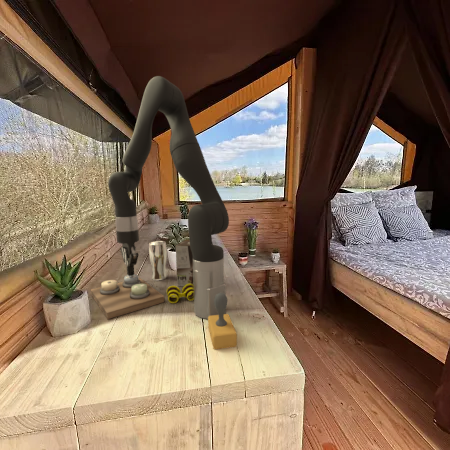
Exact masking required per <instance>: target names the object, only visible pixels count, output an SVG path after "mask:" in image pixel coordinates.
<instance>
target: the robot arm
mask: <svg viewBox="0 0 450 450" xmlns="http://www.w3.org/2000/svg"><path fill="white" fill-rule="evenodd" d="M185 101H186V100H185V97H184V94H183V92H182V90H181V89H180V88H179V87H178V86H176V85H175V84H174V83H172V82H170V81H169V80H168V79H167V78H165V77H163V76H161V75H156V76H153V77H152V78H150V80H149V81H148V83H147V85H146V87H145V89H144V92H143V96H142V99H141V103H140V108H139V111H138V115H137V118H136V123H135V126H134V130H133V132H132V133H133V134H132V136H131V138H130V140H129V143H128V145H127V148H126V150H125V151H124V154H123V156H122V159H121V160H122V163H123V165H124V166H125V168H124V171H114V172H112V173H111V174H110V175H109V177H108V181H107V183H108V184H107V185H108V190H109V193H110V195H111V199H112V201H113V204H114V214H115V234H116V242H117V243H118V244H122V245H121V247H120V254H121V257H122V260H123V263H124V264H125V266H126V276H127V275H128V276H132V275H134V274H135V265H137V263H138V259H139V256H140V255H139V253H138V252H137V246H135V245H136V244H135V243H137V242H139V241H140V234H139V221H138V217H137V215H138V214H137V204H136V201H135V200H134V199H131V198H130V195H129V194H130V192H134V191H135V190H136V189H137V188H138V187H139V185H140V182H141V178H142V174H143V169H144V168H143V167H144V165H145V163H146V162H147V159H148V157H149V155H150V152H151V150H152V145H153V144H152V143H153V139H152V137H153V133H152V132H153V131H152V130H153V123H154V120H155V117H156V116H157V113H158V111H159V112H161V113H163V115H164V116H165V118H166V119H167V122H168V124H169V127H170V131H171V134H170V135H171V136H170V139H169V154H170V156H171V158H172V162H173V164H174V167H175V169H176V172H177V173H178V175H179V176H180V177H181V178H182V179H183V180H184V181H185V182H186V183H187V184H188V185H189V186H190V187H191V188H192V189H193V190H194V191H195V192H196V195H197V196H198V198H199V199H200V202H201V204H195V205H193V206H192V207H191V208H190V210H189V211H188V215H187V227H188V237H189V239H188V241H190V248H191V251H192V255H193V284H194V300H193V303H194V305H193V309H194V314H195V316H196V317H198V318H201V319H204V320H205V319H207V320H208V317H209V316H212V315H218V312H217V310H216V308H215V305H214V299H215V296H216V295H217V294H218V293H224V294H225V295H226V296H227V285H226V284H225V268H224V267H225V265H224V264H225V263H224V262H225V257H224V255H225V254H224V252H225V251H224V248H223V247H222V246H219V245H217V244H213V239H212V236H213V235H217V234H223V233H224V232H226V231H227V229H228V228H229V224H230V217H229V213H228V210H227V207H226V206H225V203H224V201H223V199H222V197H221V195H220V192H218V189H217V188H216V185H215V182H214V180H213V178H212V175H211V173H210V171H209V168H208V166H207V164H206V160H205V157H204V154H203V151H202V148H201V147H200V146H201V145H200V143H199V141H198V139H197V136H196V134H195V130H194V128H193V125H192V123H191V120H190V115H189V113H188V107H187V105H186V102H185ZM224 314H227V309H226V310H225V312H224Z"/></svg>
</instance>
